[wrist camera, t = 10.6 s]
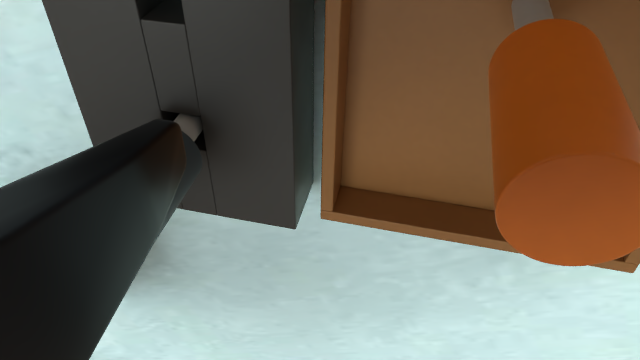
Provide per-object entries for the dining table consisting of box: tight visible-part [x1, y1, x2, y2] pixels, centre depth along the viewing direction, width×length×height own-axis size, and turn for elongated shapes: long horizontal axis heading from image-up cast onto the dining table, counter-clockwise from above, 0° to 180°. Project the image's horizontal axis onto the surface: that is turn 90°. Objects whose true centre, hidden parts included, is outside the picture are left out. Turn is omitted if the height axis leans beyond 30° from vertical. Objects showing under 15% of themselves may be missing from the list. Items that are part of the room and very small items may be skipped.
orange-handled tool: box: [488, 0, 640, 266], centre depth 14 cm, size 3×3×11 cm
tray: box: [321, 0, 640, 273], centre depth 17 cm, size 21×14×3 cm
